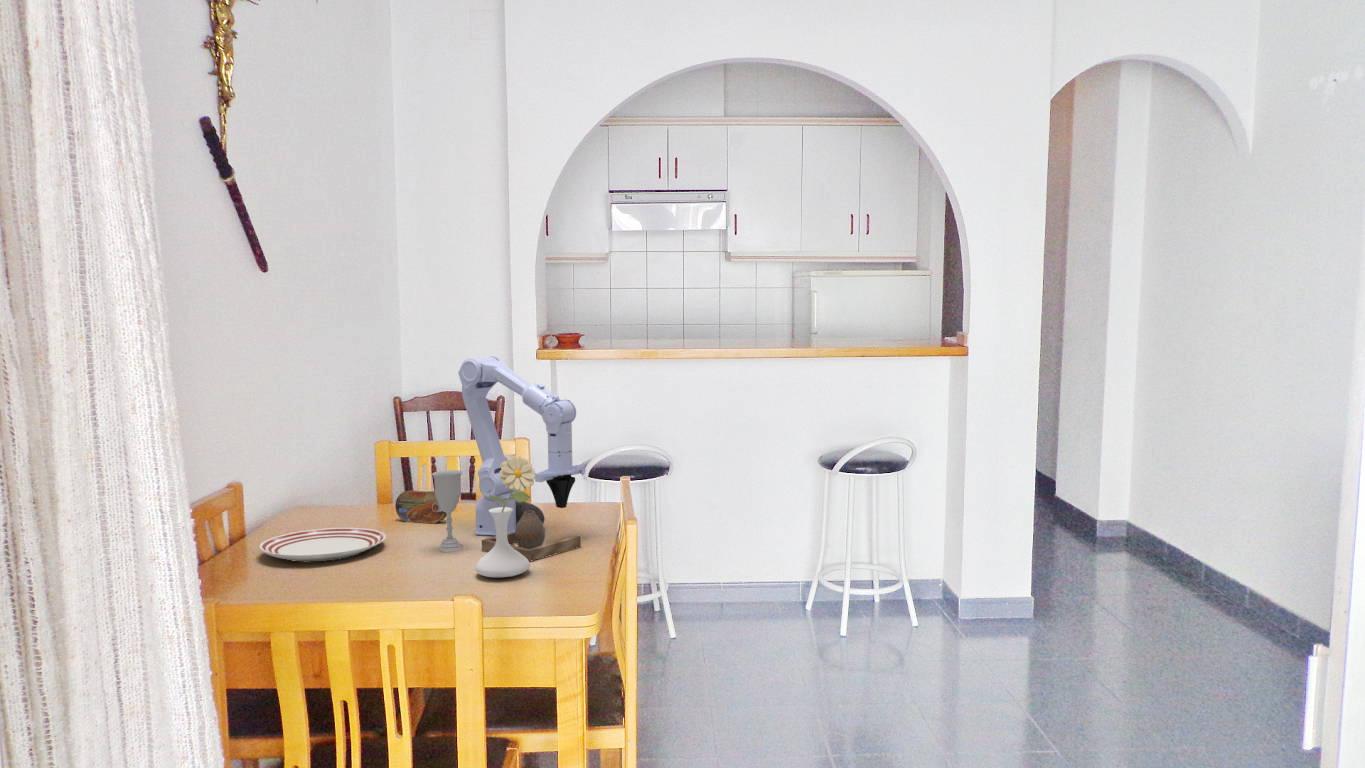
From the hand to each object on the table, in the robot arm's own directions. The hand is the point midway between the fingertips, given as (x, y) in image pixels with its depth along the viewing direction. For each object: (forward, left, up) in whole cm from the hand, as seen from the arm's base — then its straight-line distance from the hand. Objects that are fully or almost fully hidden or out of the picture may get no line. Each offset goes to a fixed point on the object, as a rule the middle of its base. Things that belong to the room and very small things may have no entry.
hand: (561, 507), depth 219 cm
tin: (-44, +11, -8) cm, 46 cm away
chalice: (-23, -13, -8) cm, 27 cm away
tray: (-4, -9, -8) cm, 12 cm away
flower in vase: (-1, -29, -8) cm, 30 cm away
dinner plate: (-51, -21, -9) cm, 56 cm away
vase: (-4, -9, -8) cm, 13 cm away
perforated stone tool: (-16, +11, -8) cm, 21 cm away
